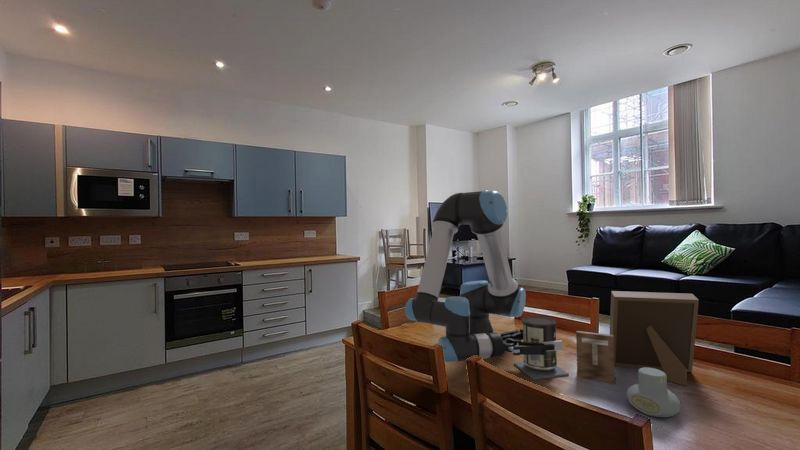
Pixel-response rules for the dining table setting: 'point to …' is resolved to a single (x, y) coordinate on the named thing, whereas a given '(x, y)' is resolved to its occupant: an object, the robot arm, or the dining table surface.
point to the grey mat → (541, 371)
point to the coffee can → (540, 341)
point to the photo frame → (654, 331)
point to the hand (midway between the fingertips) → (551, 339)
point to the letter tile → (595, 356)
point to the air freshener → (653, 394)
